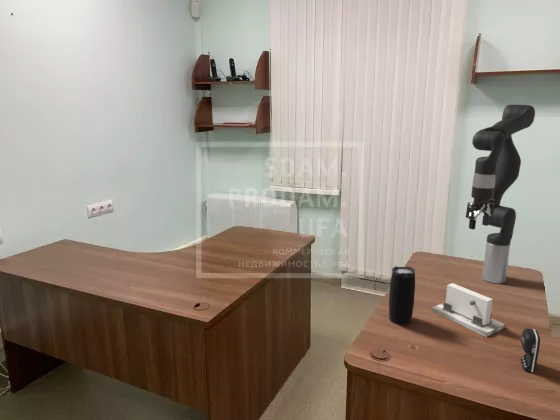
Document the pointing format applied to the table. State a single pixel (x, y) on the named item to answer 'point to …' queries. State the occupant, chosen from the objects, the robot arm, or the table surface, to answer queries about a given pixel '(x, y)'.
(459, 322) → the cabinet side
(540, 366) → the table surface
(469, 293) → the door
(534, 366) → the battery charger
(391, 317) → the portable speaker
